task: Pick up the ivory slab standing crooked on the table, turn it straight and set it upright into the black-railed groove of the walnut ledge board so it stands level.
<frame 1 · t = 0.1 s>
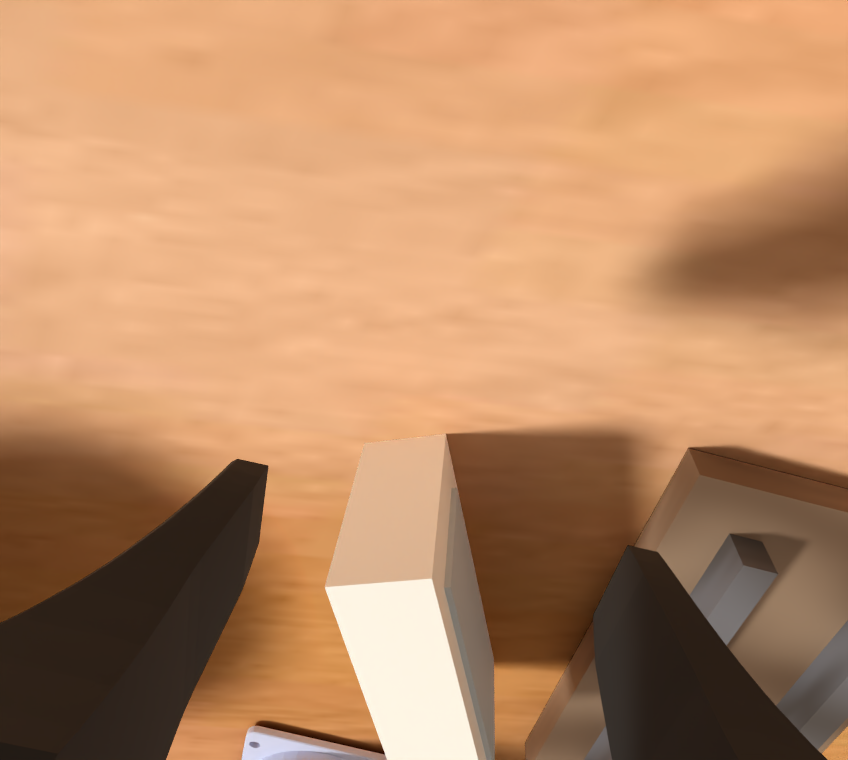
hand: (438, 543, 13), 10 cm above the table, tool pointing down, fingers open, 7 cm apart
ledge board: (719, 649, 28), on the table
ivory slab: (435, 559, 27), on the table
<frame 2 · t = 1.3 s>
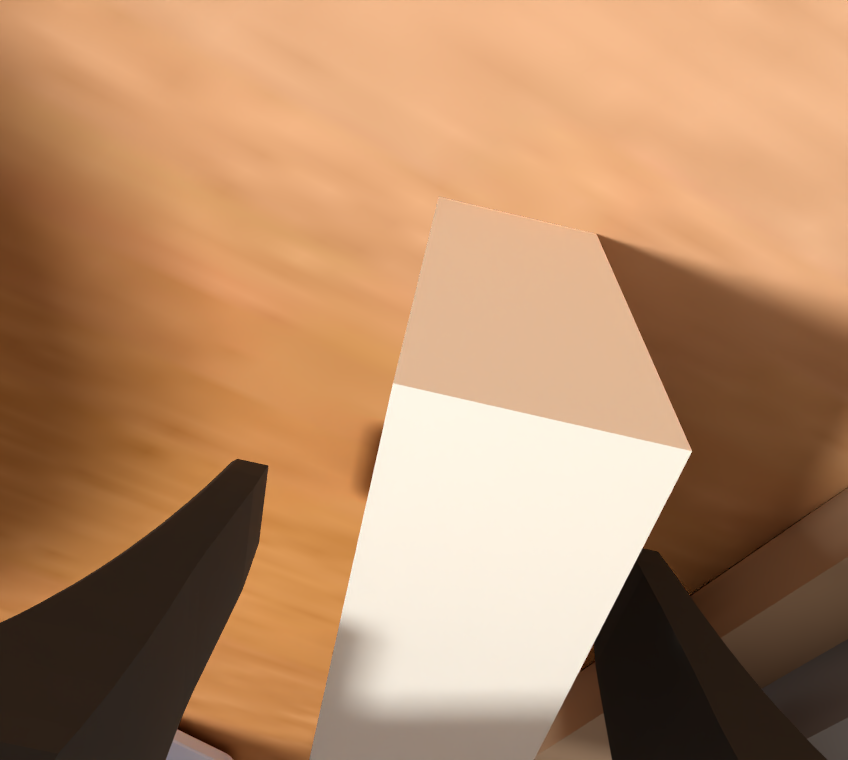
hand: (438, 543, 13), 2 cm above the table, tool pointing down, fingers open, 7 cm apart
ledge board: (776, 727, 19), on the table
ivory slab: (445, 465, 16), on the table
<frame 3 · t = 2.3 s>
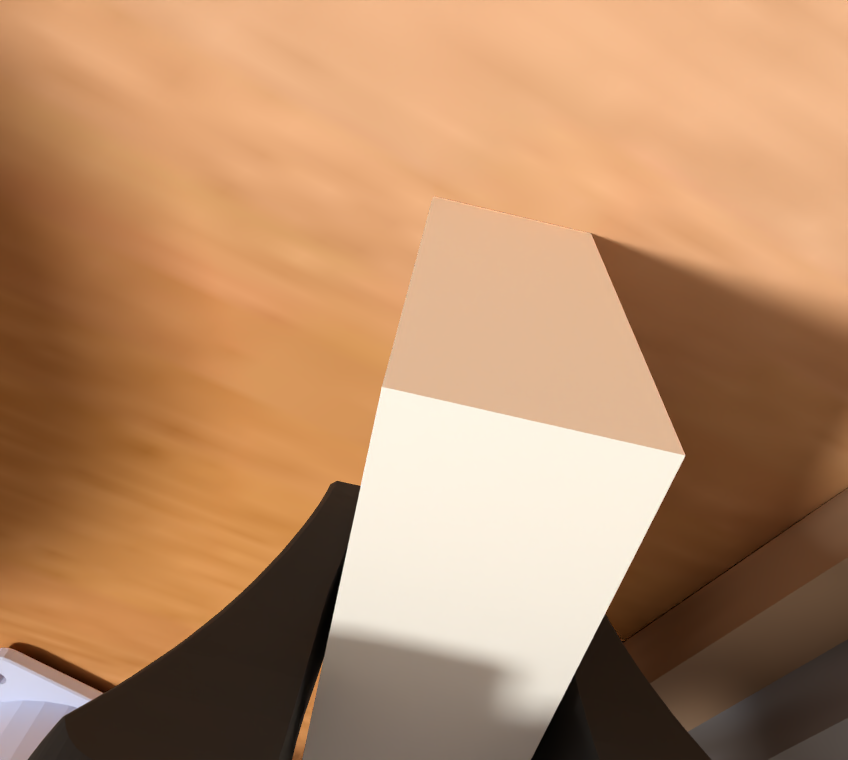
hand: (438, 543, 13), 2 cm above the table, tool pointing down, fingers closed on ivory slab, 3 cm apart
ledge board: (776, 727, 19), on the table
ivory slab: (440, 467, 16), on the table, touching gripper
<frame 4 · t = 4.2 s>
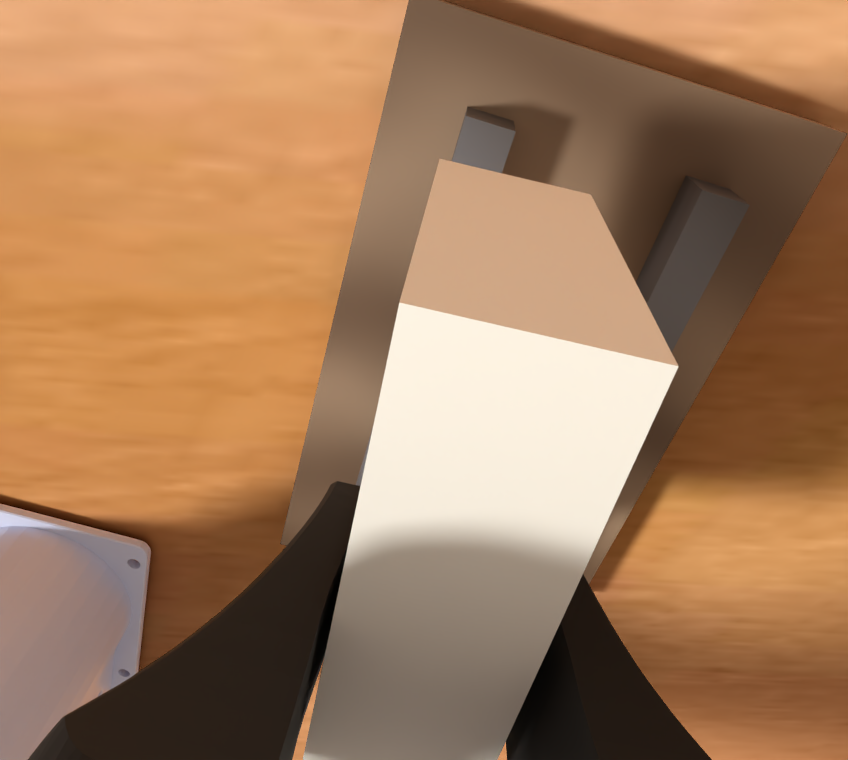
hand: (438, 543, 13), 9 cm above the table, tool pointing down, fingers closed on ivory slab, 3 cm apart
ledge board: (506, 356, 22), on the table
ivory slab: (445, 427, 16), point 6 cm above the table, touching gripper
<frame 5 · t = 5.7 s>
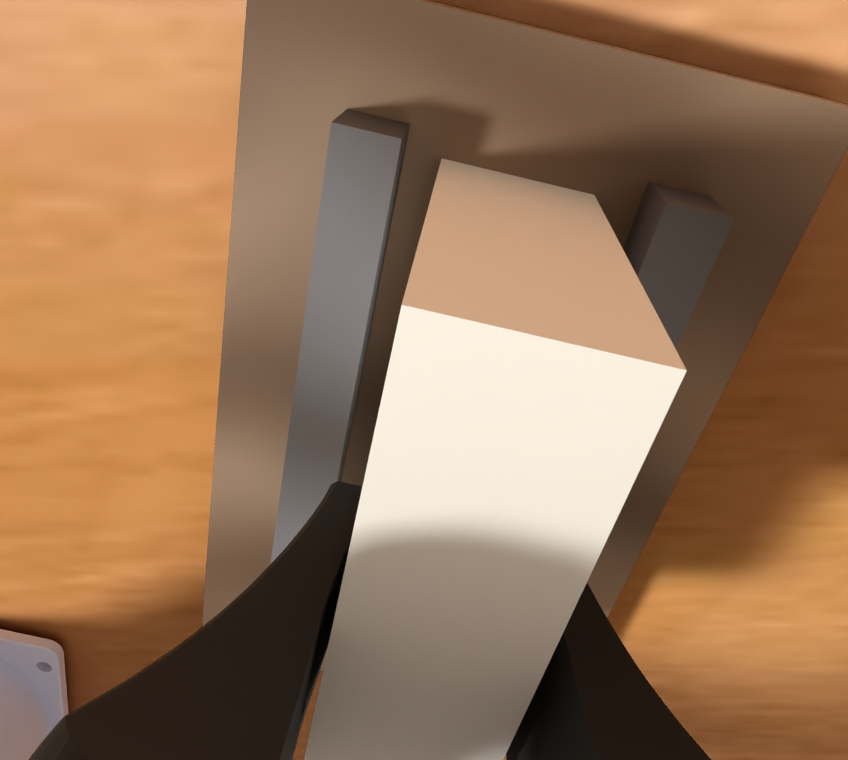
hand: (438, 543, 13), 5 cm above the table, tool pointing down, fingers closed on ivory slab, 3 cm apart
ledge board: (449, 415, 18), on the table
ivory slab: (447, 430, 16), point 1 cm above the table, touching gripper, ledge board
when the fingers open (5 cm above the table, at t = 6.2 s): ivory slab stays where it is, resting on ledge board.
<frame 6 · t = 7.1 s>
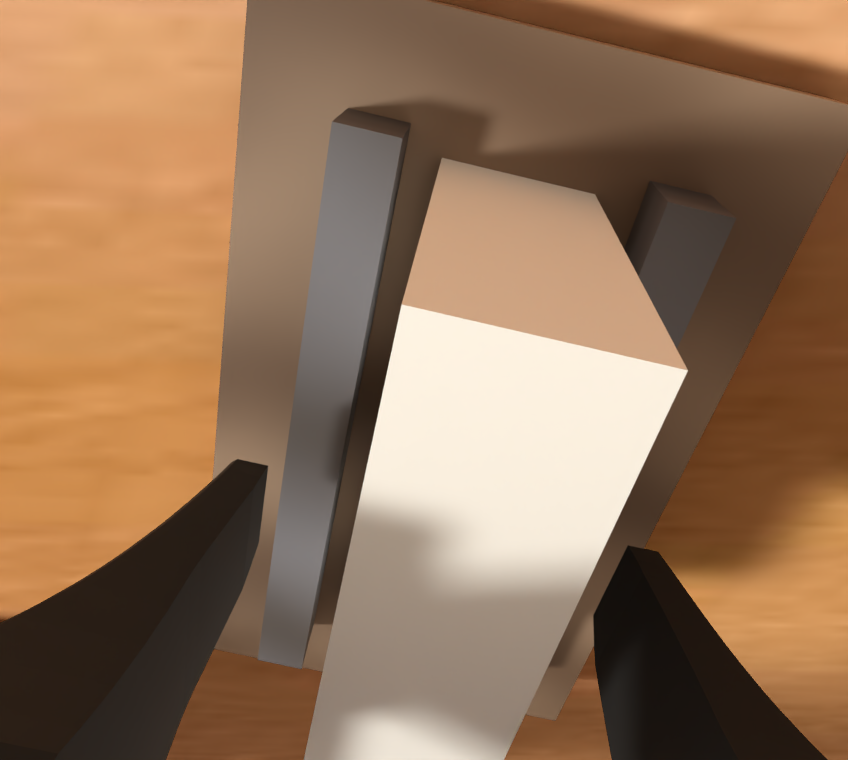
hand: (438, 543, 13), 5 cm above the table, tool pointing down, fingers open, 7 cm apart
ledge board: (449, 415, 18), on the table
ivory slab: (447, 430, 16), point 1 cm above the table, touching ledge board
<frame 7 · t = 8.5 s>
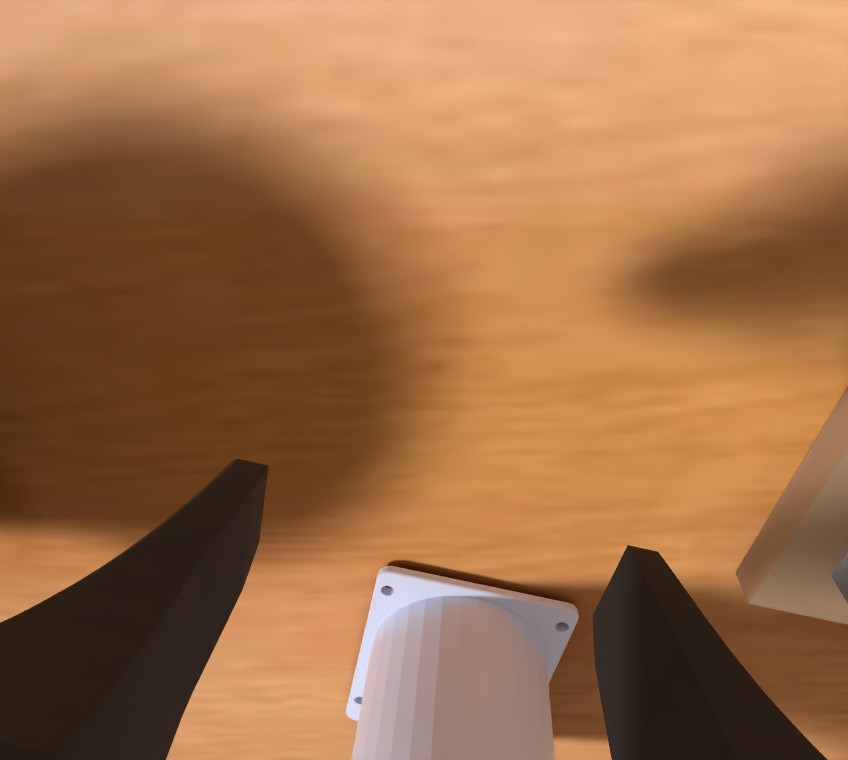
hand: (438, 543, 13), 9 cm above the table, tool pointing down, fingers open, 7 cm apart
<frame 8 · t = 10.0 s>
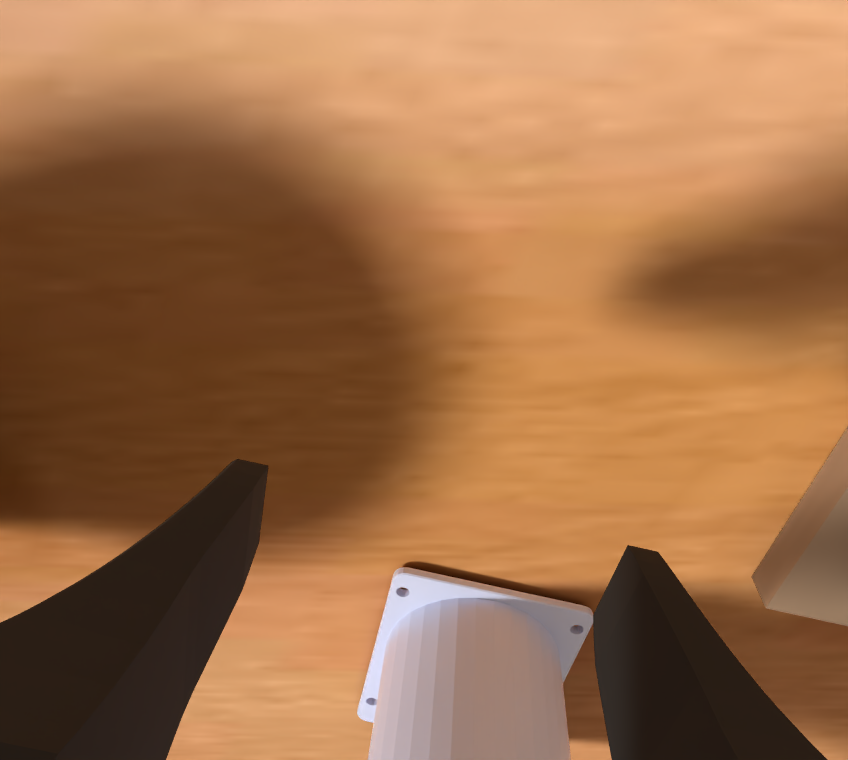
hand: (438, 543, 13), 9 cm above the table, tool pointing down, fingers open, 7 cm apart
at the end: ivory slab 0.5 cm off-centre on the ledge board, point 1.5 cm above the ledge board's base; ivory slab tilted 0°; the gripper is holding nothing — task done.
